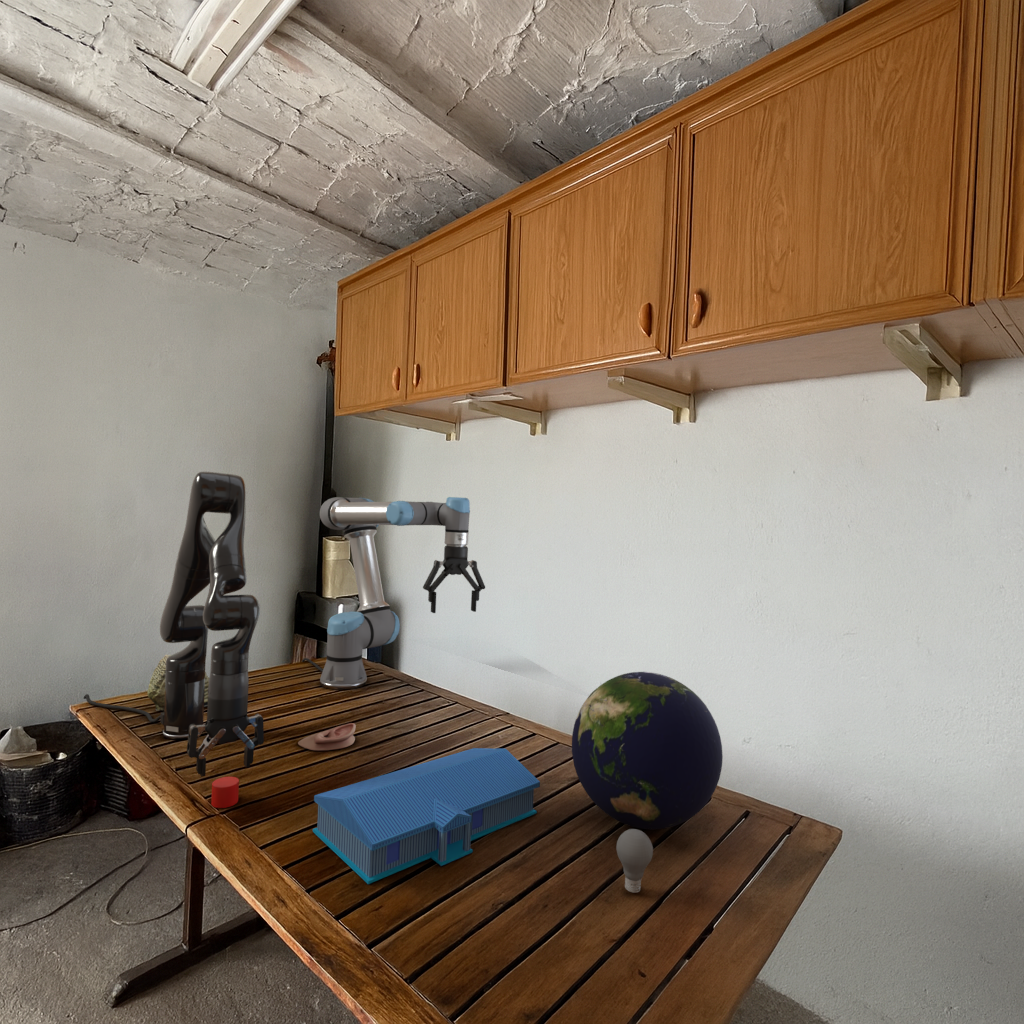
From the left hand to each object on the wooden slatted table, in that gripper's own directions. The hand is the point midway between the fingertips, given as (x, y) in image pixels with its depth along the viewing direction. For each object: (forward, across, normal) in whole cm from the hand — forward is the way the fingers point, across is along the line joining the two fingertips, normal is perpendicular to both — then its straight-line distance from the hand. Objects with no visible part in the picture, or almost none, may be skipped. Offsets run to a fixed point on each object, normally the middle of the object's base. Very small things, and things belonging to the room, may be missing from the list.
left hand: (225, 770), depth 130 cm
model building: (+6, +31, -31) cm, 45 cm away
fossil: (+8, +4, +66) cm, 67 cm away
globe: (+5, +68, -52) cm, 86 cm away
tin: (+6, 0, 0) cm, 6 cm away
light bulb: (+5, +48, -68) cm, 83 cm away
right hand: (-21, +75, +35) cm, 86 cm away
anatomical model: (+7, +29, +19) cm, 35 cm away
